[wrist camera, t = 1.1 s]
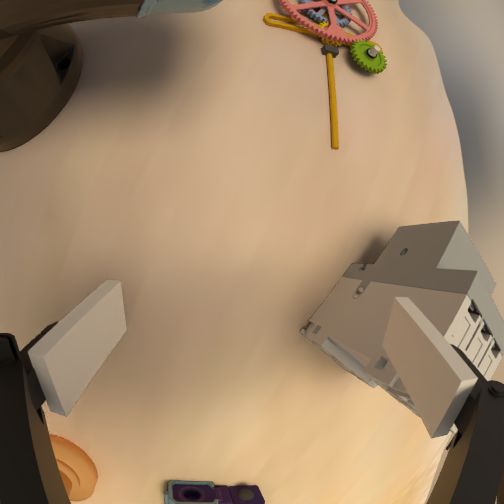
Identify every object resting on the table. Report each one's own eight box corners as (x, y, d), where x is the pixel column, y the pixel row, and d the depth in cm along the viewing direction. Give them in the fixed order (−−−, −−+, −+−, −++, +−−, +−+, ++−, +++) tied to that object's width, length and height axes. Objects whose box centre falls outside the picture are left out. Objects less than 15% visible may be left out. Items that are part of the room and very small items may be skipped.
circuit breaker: (422, 264, 31) (536, 269, 17) (349, 372, 29) (453, 437, 15) (383, 217, 30) (505, 198, 15) (299, 331, 28) (405, 395, 13)
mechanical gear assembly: (360, -17, 31) (262, -42, 28) (372, -33, 27) (269, -62, 24) (393, 161, 31) (259, 141, 28) (417, 152, 27) (270, 125, 24)
